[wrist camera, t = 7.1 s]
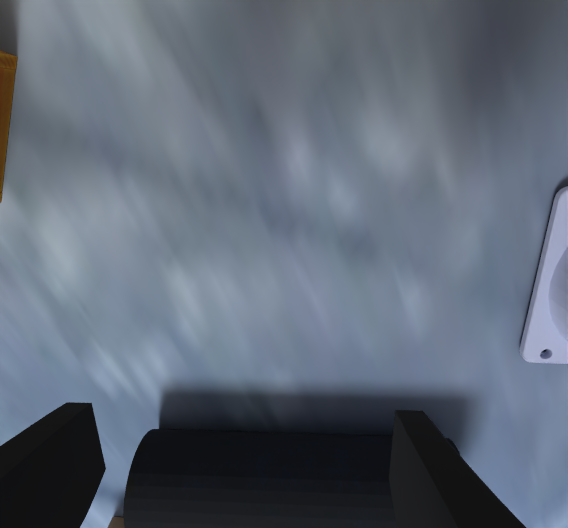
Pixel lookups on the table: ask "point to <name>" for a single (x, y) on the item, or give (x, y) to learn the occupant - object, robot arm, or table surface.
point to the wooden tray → (117, 522)
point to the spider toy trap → (5, 104)
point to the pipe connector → (259, 480)
